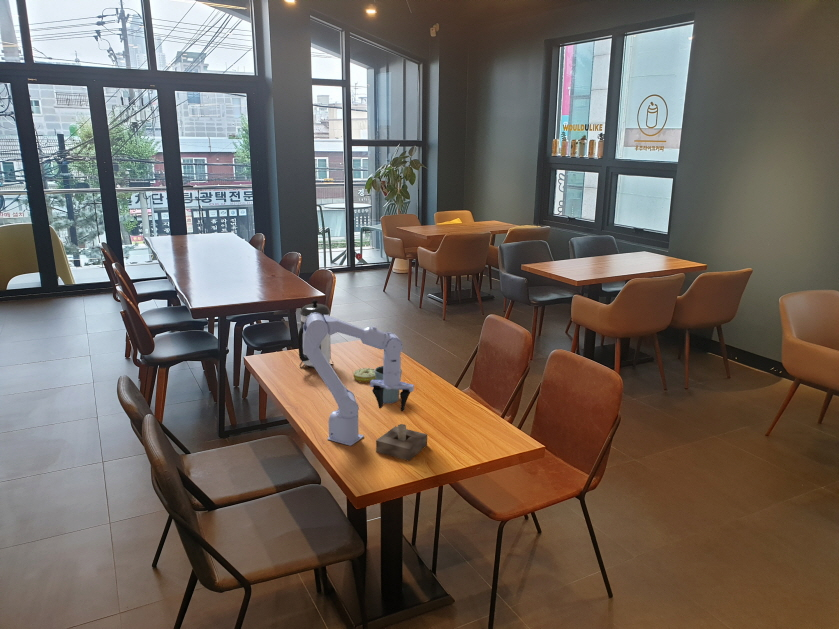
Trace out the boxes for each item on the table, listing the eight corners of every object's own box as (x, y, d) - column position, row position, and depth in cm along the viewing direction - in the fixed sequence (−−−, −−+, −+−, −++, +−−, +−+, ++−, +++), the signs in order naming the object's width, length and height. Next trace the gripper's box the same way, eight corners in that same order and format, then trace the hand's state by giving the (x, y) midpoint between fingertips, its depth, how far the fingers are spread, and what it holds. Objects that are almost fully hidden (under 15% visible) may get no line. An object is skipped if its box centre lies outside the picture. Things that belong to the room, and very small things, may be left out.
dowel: (396, 449, 203) (396, 426, 201) (400, 446, 205) (400, 423, 203) (403, 451, 201) (403, 428, 199) (407, 448, 204) (407, 425, 201)
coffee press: (294, 362, 282) (292, 296, 274) (330, 359, 287) (329, 294, 279) (299, 375, 266) (297, 306, 258) (337, 371, 271) (336, 303, 263)
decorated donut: (383, 377, 266) (383, 368, 265) (372, 385, 257) (372, 376, 256) (361, 373, 270) (361, 365, 269) (349, 381, 260) (349, 373, 259)
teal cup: (370, 401, 241) (369, 371, 237) (383, 392, 249) (383, 363, 246) (393, 406, 236) (393, 376, 233) (406, 397, 245) (406, 367, 242)
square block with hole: (376, 451, 201) (376, 440, 200) (395, 437, 211) (395, 426, 210) (409, 460, 195) (409, 449, 194) (427, 445, 206) (427, 434, 204)
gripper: (366, 372, 205) (367, 410, 208) (409, 377, 201) (409, 416, 205) (374, 365, 211) (374, 402, 215) (415, 369, 208) (415, 408, 211)
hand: (391, 408), depth 210 cm, fingers open, 7 cm apart
